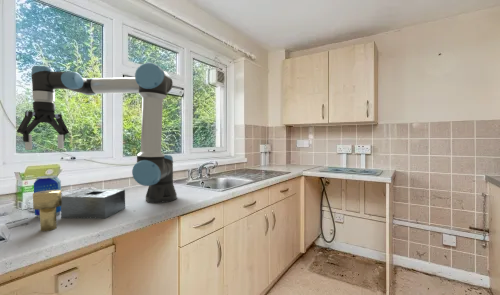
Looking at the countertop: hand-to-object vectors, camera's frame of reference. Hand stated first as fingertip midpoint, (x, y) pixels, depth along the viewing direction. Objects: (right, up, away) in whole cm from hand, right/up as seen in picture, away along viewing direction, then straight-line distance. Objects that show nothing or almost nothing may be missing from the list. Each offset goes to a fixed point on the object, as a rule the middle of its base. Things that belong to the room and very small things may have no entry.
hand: (45, 149), depth 108 cm
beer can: (+10, -27, -10) cm, 31 cm away
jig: (+27, -27, -7) cm, 39 cm away
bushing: (+22, -28, -24) cm, 43 cm away
